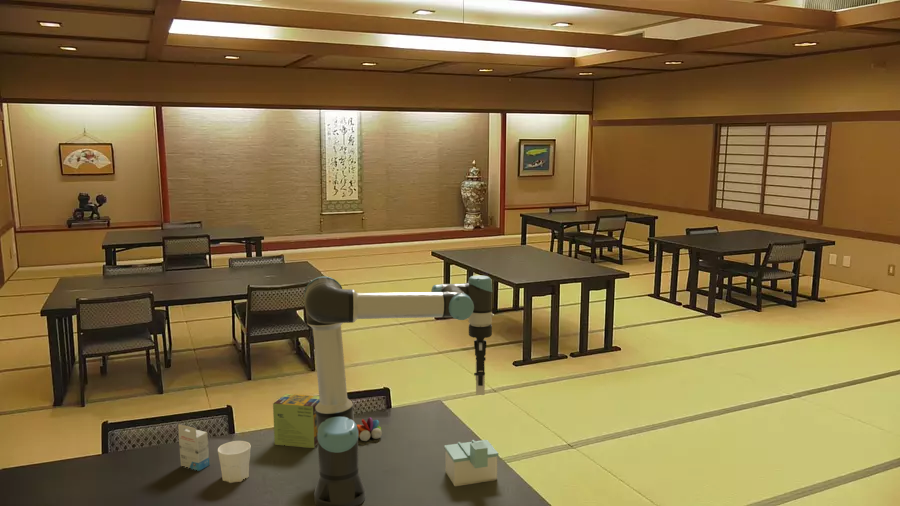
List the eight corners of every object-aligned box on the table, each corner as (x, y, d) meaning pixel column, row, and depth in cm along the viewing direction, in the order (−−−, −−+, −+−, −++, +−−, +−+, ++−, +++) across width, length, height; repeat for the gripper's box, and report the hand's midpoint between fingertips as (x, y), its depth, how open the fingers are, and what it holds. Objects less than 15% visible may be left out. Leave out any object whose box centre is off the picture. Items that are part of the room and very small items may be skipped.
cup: (218, 486, 213) (216, 456, 212) (220, 471, 223) (218, 442, 222) (252, 481, 216) (250, 452, 215) (252, 467, 226) (250, 439, 224)
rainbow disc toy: (352, 435, 251) (351, 416, 250) (377, 430, 255) (377, 411, 254) (359, 443, 244) (358, 424, 243) (385, 439, 248) (384, 419, 247)
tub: (454, 486, 212) (454, 461, 211) (445, 471, 222) (445, 448, 221) (497, 479, 216) (497, 455, 215) (486, 466, 226) (486, 443, 225)
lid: (458, 471, 206) (458, 451, 205) (444, 450, 221) (444, 432, 220) (503, 465, 211) (503, 445, 210) (486, 444, 225) (486, 426, 224)
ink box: (210, 465, 227) (207, 423, 225) (198, 471, 223) (195, 428, 221) (191, 460, 231) (189, 418, 229) (180, 466, 227) (177, 423, 225)
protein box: (314, 448, 240) (313, 406, 238) (274, 445, 243) (272, 403, 241) (326, 436, 250) (324, 395, 248) (286, 433, 253) (285, 393, 251)
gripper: (493, 334, 208) (492, 401, 211) (490, 314, 233) (490, 374, 236) (468, 334, 208) (468, 400, 211) (468, 314, 233) (468, 374, 236)
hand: (479, 387), depth 224 cm, fingers open, 13 cm apart
